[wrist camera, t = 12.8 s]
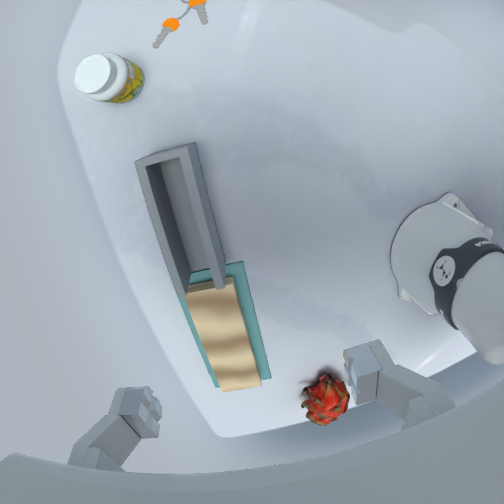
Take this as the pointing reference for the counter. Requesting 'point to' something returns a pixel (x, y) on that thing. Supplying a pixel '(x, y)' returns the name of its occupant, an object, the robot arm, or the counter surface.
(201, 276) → the teal mat
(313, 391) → the dragon fruit
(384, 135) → the counter surface
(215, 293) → the oak lid
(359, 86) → the counter surface
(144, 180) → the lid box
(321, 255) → the counter surface
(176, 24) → the key chain
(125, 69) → the supplement bottle
